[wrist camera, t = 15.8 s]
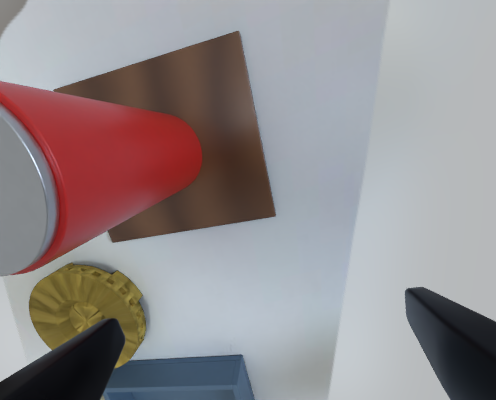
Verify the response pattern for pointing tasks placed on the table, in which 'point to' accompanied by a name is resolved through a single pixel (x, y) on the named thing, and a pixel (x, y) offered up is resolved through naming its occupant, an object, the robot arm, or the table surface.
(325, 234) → the table surface
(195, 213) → the walnut board
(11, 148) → the can
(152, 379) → the tray
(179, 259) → the table surface
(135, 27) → the table surface
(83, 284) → the gold round disc
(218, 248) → the table surface
